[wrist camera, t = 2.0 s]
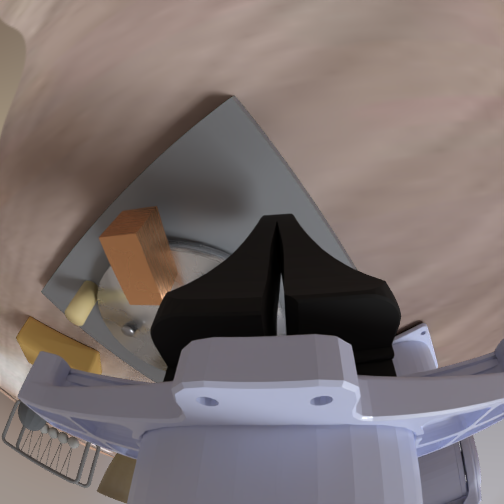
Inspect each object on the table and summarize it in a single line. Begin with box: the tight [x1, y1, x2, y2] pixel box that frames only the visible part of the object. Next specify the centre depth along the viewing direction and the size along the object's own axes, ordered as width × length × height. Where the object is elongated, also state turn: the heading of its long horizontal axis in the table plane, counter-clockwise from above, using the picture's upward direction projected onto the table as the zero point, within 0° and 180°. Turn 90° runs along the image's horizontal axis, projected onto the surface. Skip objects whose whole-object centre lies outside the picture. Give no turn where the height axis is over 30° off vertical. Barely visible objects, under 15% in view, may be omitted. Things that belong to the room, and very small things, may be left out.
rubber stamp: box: [16, 317, 102, 431], centre depth 22 cm, size 10×6×12 cm, turn 69°
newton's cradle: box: [2, 400, 100, 488], centre depth 51 cm, size 30×10×18 cm, turn 80°
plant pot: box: [97, 453, 137, 503], centre depth 39 cm, size 15×15×16 cm
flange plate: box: [97, 206, 285, 371], centre depth 17 cm, size 16×13×4 cm
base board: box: [41, 96, 357, 383], centre depth 18 cm, size 18×22×4 cm
